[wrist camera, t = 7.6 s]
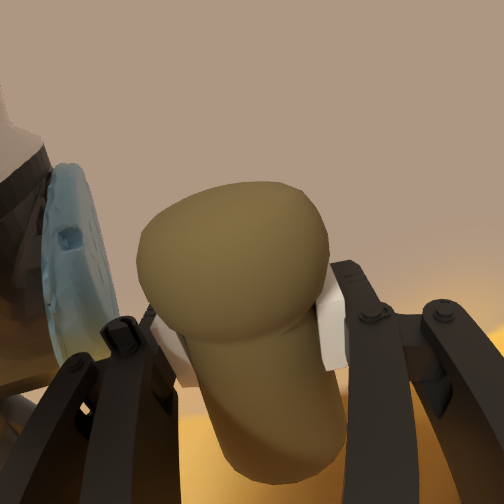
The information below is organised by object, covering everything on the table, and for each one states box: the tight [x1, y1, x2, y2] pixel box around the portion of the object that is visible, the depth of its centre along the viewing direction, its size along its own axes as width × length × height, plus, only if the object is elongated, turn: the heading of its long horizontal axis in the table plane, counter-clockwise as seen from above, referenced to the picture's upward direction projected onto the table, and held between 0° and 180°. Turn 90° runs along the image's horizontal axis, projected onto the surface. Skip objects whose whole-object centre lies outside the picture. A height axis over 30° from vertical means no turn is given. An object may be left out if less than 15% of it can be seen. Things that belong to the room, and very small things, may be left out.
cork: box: [136, 182, 347, 485], centre depth 10 cm, size 6×6×11 cm
